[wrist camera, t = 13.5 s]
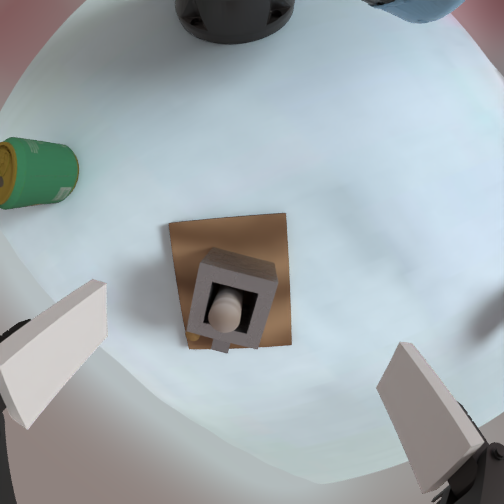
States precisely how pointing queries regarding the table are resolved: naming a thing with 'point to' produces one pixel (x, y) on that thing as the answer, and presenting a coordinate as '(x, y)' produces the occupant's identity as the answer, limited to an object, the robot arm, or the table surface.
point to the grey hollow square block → (239, 276)
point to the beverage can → (35, 172)
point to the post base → (239, 242)
